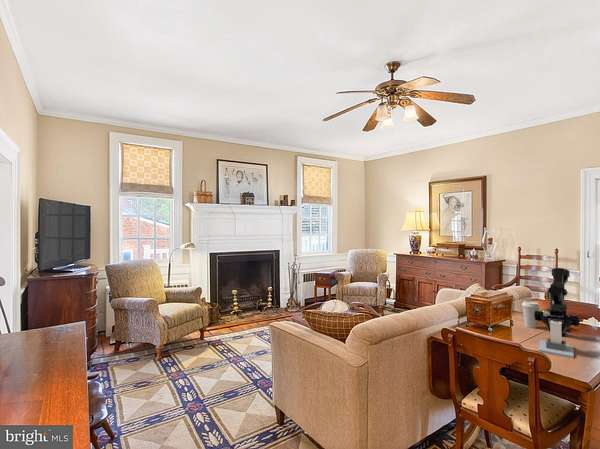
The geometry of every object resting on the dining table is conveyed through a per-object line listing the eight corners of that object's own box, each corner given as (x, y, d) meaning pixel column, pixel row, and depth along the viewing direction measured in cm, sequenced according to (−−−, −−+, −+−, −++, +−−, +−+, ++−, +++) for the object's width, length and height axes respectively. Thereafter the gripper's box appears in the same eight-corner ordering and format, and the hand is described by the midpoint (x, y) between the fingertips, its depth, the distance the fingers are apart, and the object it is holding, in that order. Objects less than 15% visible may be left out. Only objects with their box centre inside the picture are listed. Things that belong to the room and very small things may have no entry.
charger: (550, 345, 180) (550, 319, 180) (561, 347, 177) (561, 321, 177) (550, 347, 177) (550, 321, 177) (561, 349, 174) (561, 323, 174)
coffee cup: (539, 325, 218) (539, 301, 218) (540, 329, 210) (540, 304, 210) (521, 323, 223) (521, 300, 223) (521, 327, 215) (521, 303, 215)
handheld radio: (548, 320, 229) (572, 332, 205) (543, 320, 230) (566, 332, 205) (548, 310, 229) (572, 321, 205) (542, 310, 230) (566, 321, 205)
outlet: (540, 341, 188) (540, 334, 188) (573, 347, 180) (573, 339, 180) (538, 351, 174) (538, 343, 174) (573, 358, 166) (573, 349, 166)
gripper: (534, 295, 186) (532, 320, 177) (579, 300, 174) (579, 327, 166) (535, 307, 192) (534, 332, 183) (578, 312, 181) (579, 339, 172)
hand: (555, 332), depth 176 cm, fingers open, 5 cm apart
